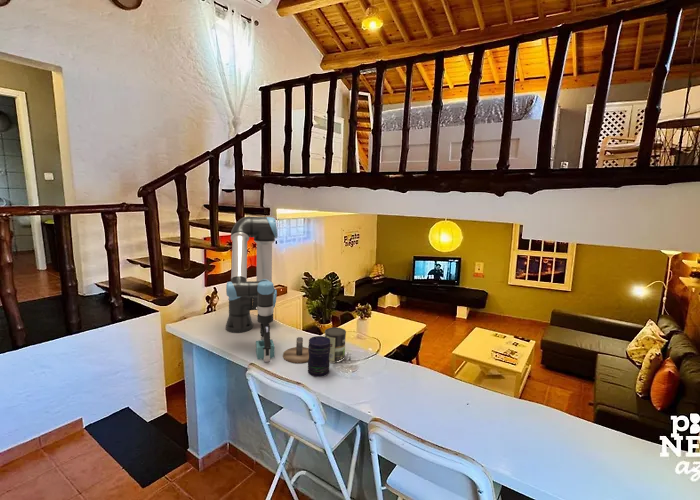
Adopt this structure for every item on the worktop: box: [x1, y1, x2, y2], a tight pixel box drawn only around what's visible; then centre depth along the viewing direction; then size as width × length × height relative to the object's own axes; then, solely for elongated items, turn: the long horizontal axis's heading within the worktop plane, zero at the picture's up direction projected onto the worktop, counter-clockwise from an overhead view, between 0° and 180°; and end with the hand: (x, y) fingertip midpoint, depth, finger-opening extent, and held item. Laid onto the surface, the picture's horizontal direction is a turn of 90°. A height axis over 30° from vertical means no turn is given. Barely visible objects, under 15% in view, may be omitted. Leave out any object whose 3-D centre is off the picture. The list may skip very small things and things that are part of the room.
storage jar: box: [307, 335, 330, 378], centre depth 160 cm, size 10×10×15 cm
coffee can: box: [324, 327, 347, 364], centre depth 173 cm, size 10×10×14 cm
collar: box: [255, 338, 276, 360], centre depth 174 cm, size 8×8×6 cm
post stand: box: [282, 336, 309, 364], centre depth 175 cm, size 16×16×9 cm
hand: (265, 354), depth 174 cm, fingers open, 13 cm apart
